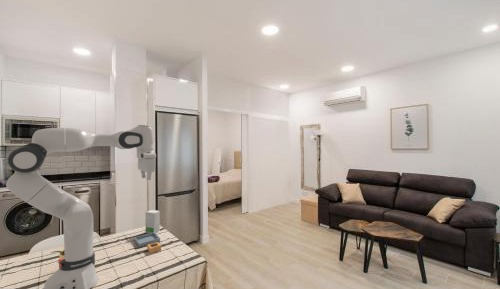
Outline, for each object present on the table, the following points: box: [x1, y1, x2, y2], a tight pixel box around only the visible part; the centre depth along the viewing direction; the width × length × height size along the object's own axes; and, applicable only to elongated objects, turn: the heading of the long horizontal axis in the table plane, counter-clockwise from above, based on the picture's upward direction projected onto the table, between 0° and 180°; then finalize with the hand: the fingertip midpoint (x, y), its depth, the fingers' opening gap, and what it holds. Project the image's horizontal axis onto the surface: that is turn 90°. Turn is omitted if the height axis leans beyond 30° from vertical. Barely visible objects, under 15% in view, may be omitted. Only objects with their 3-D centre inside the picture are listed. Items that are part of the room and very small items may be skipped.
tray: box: [133, 232, 161, 248], centre depth 157 cm, size 13×13×2 cm
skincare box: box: [145, 209, 161, 234], centre depth 174 cm, size 8×7×16 cm
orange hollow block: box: [146, 242, 162, 254], centre depth 145 cm, size 6×8×3 cm
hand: (146, 179), depth 128 cm, fingers open, 8 cm apart
